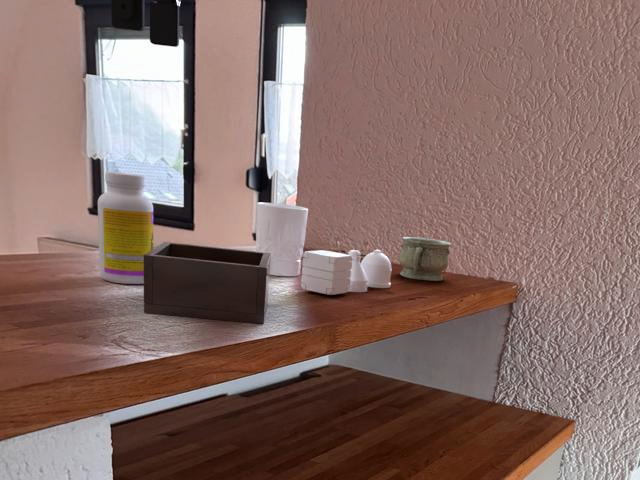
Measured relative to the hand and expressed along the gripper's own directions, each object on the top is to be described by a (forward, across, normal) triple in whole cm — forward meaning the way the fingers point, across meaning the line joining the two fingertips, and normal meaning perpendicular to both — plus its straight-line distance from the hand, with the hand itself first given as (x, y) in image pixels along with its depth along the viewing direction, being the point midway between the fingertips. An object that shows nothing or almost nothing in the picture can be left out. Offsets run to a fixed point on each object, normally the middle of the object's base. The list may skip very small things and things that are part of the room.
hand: (147, 37), depth 78 cm
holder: (+27, +3, +9) cm, 28 cm away
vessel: (+27, -47, +31) cm, 63 cm away
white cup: (+27, -30, +9) cm, 41 cm away
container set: (+27, -24, +22) cm, 42 cm away
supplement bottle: (+27, -6, -5) cm, 28 cm away
